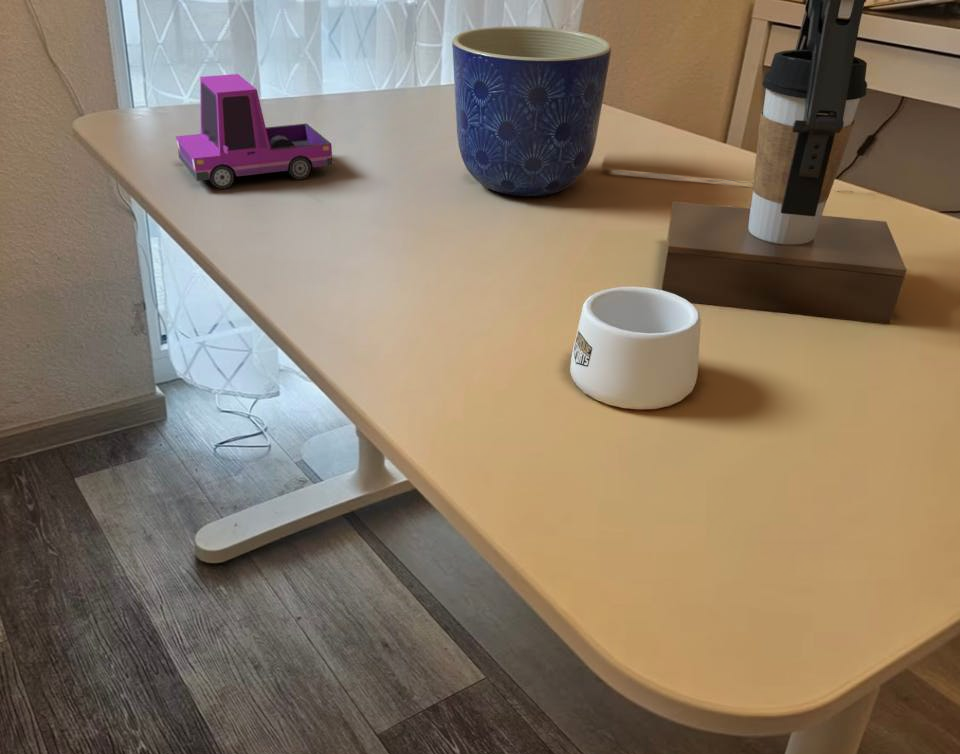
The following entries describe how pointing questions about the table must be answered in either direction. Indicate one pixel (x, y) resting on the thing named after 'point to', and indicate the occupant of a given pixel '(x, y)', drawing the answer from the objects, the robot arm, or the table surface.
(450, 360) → the table surface
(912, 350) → the table surface
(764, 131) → the coffee cup
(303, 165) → the toy truck
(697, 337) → the mug
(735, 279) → the dark wooden box
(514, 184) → the planter
